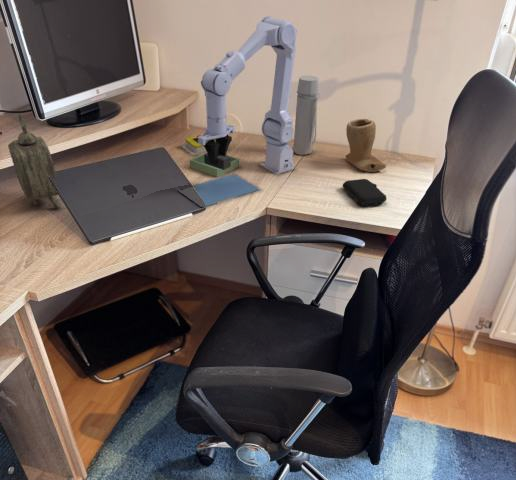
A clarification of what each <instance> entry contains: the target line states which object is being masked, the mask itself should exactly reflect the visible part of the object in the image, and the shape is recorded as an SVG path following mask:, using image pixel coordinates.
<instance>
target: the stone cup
mask: <svg viewBox="0 0 516 480" xmlns="http://www.w3.org/2000/svg"><path fill="white" fill-rule="evenodd" d="M345 128H346V133H345V134H346V138H347V142H348V146H349V153H347V154H345V156H344V157H345V159H346V161H347V162H349V164H351V165H353V166H355V168H357V169H359V170H361V171H364V172H367V173H375V172H378V171H381V170H384V169H386V168H387V165H386V163H384V162H382V161H381V159H378V158H377V157H376V156H374V155H372V150H373V146H374V143H375V142H374V141H375V139H376V133H377V131H376V128H377V126H376V122H375V121H374V120H370V119H369V118H357V119H353V120H351V121H349V122H348V123H347V125H346V127H345Z"/></svg>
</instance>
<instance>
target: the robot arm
mask: <svg viewBox="0 0 516 480" xmlns="http://www.w3.org/2000/svg"><path fill="white" fill-rule="evenodd" d="M297 32H298V30H297V28H296V27H295V25H294V24H293V22H292V21H291V20H284V19H280V18H279V19H278V18H274V17H271V16H270V15H269V16H268V15H267V16H264V17H263V18H261V20H260V21H259V22H257V23H256V28H255V30H254V32H252V34H251V35H250V36H249V37H248V38H247V39H246V40H245V42H244V43H243V44H242V45H241V46H240V47H239V48H238V50H231V51H228V52H227V53H226V54H225V57H224V58H222V60H221V61H219V63H216V64H215V65H214V67H213V68H211V69H207V70H206V71H205V72H204V73H203V74H202V79H201V81H200V85H201V88H202V89H203V92H204V96H205V107H206V109H205V110H206V128H205V130H204V131H205V132H204V133H203V134H200V135H201V136H200V137H198V144H200V145H203V146H204V147H205V149H206V151H207V152H206V153H207V154H208V157H209V160H210V163H211V164H214V165H216V164H217V153H218V154H220V155H223V156H226V155H227V154H228V153H227V152H228V149H229V147H230V144H231V142H232V141H233V137H232V136H230V135H229V134H234V133H235V132H236V127H235V125H232V124H228V125H227V93H228V92H229V91H230V90H231V89H230V88H231V85H232V83H233V82H234V80H235V79H236V78H237V77H238V76H239V75H240V74H241V73H242V72H243V71H244V70H245V68H246V62H247V61H248V60H250V59H251V58H252V57H253V56H254V55H255V54H256V53H258V52H259V51H260V50H261V49H262V48H264V46H270V47H271V48H272V50H273V51H274V53H275V54H276V59H275V67H274V77H273V86H272V95H271V96H272V97H271V105H270V109H269V110H267V112H265V113H264V119H263V122H262V124H261V133H262V135H263V136H264V140H265V160H264V161H265V162H262V163H259V166H261V167H263V168H264V169H266V170H268V171H270V172H272V173H274V174H276V175H278V174H279V175H280V174H283V173H286V172H289V171H293V170H295V168H294V166H293V164H294V163H293V162H294V151H293V148H292V146H291V145H289V143H290V142H291V140H292V138H293V137H294V136H293V135H294V127H293V121H294V119H293V117H292V115H291V114H290V113H289V111H288V110H289V103H290V96H291V95H290V94H291V88H292V79H293V71H294V64H295V57H296V40H297ZM215 140H216V141H215Z"/></svg>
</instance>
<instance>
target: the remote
mask: <svg viewBox="0 0 516 480" xmlns="http://www.w3.org/2000/svg"><path fill="white" fill-rule="evenodd" d="M203 154H204V163H205V164H208V165H211V166H214V167H216V168H219V169H222V170H225V169H227V168H229V167H231V158H229V157H226V156H223V155H220V154H217V164H216V165H214V164H211V163H210V160H209V157H208V154H205V153H203Z"/></svg>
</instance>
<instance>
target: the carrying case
mask: <svg viewBox="0 0 516 480" xmlns="http://www.w3.org/2000/svg"><path fill="white" fill-rule="evenodd" d="M342 188H343V190H344V191H345V192H346V193H347V194H348V195H349V196H350V197H351V198H352V199H353V200H354V201H355V202H356V203H357V204H358V205H360V206H361V207H366V206H375V205H382V204H384V203H385V202H386V201H387V195H386V194H385V193H383V192H382V191H381V190H380V188H378V187H377V184H376V183H373V182H372V181H370V180H369V179H367V178H359V179H351V180H350V179H349V180H345V182H343V183H342Z"/></svg>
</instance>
